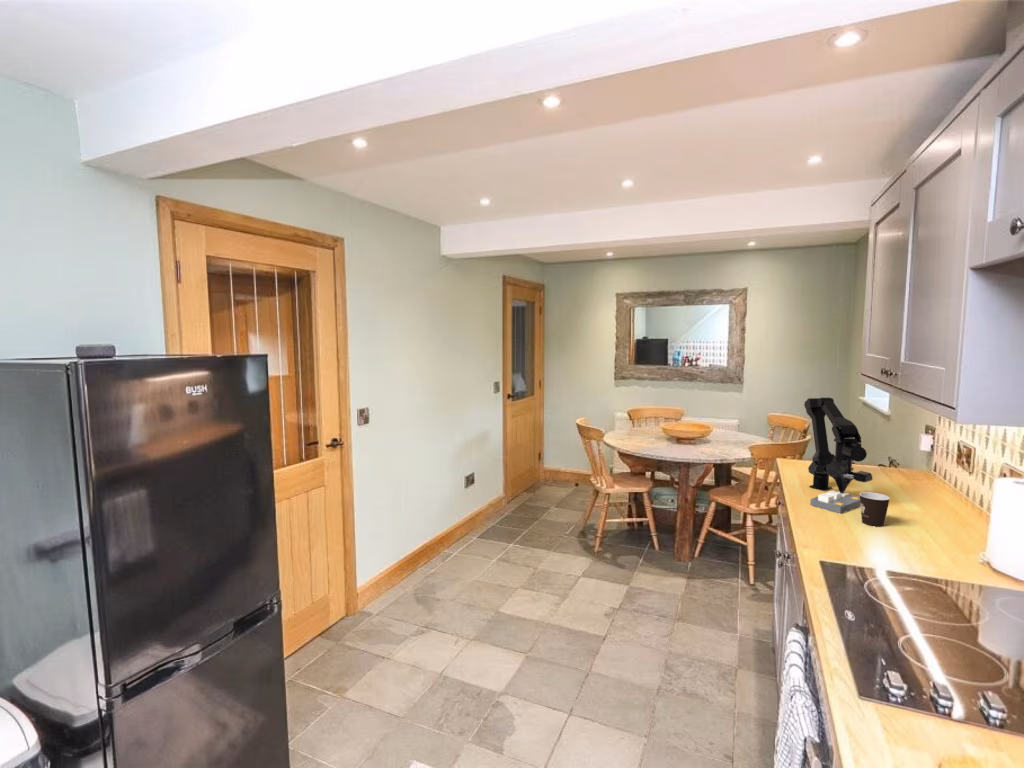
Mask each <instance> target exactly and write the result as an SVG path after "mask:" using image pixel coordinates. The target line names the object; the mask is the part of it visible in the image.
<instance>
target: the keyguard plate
mask: <svg viewBox="0 0 1024 768" xmlns="http://www.w3.org/2000/svg"><path fill="white" fill-rule="evenodd" d="M834 491H835V492H838V491H839V490H834ZM811 505H812V507H815V506H816V507H815V508H818V507H819V508H818V509H822V510H825V509H826V510H825V511H830V512H832V513H836V514H839V513H840V515H841V514H843V513H846V512H848V511H852V510H853V509H857V508H860V507H861V504H860V496H857V495H855V494H854V495H853V494H850V493H849V496H848V497H842V499H839V500H834V501H833V502H830V503H826V502H823V501H819V500H818V496H816V497H813V498H810V506H811ZM859 506H860V507H859Z"/></svg>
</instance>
